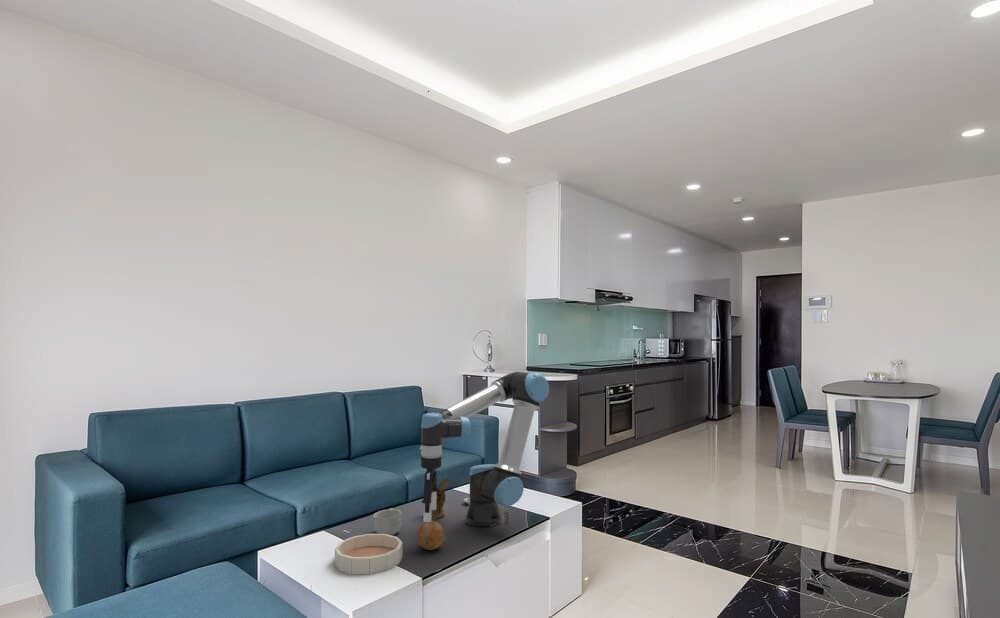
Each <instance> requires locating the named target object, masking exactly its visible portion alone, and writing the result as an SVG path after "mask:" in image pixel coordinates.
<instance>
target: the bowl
mask: <svg viewBox="0 0 1000 618" xmlns="http://www.w3.org/2000/svg"><path fill="white" fill-rule="evenodd" d="M402 558H403V541H402V540H401V539H400V538H399V537H398V536H395V535H387V534H378V533H366V534H361V535H354V536H351V537H350V538H349V537H348V538H347V539H344V540H342V541H340V542H339V543H338V544H337V545H336V546H335V548H334V566H335V567H336V569H337V570H338V571H340V572H343V573H346V574H349V575H371V574H377V573H381V571H382V572H386V571H388V570H391V569H393V568H394V567H396V566H398V565H399V564H400V563H401V560H402Z"/></svg>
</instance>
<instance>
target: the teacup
mask: <svg viewBox="0 0 1000 618" xmlns="http://www.w3.org/2000/svg"><path fill="white" fill-rule="evenodd" d="M373 526H374V531H375V533H376V534H387V535H391V536H395V535H396V534H397V533H398V532H399V531H400V530H401V528H402V511H401V510H399V509H394V508H393V507H391V508H388V509H383V510H379V511H377V512H375V513H373Z"/></svg>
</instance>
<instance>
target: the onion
mask: <svg viewBox="0 0 1000 618" xmlns="http://www.w3.org/2000/svg"><path fill="white" fill-rule="evenodd" d="M444 538H445V531H444V529H443V526H442V525H441V524H440V523H439V522H437V521H435V520H431V522H423V523H422V524H420V526H419V529H418V531H417V542H418V544H419V546H420V547H422V548H423V549H425V550H427V551H433V550H437V549H439V548H440V547H441V546H442V544H443V542H444Z"/></svg>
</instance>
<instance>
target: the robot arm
mask: <svg viewBox="0 0 1000 618" xmlns="http://www.w3.org/2000/svg"><path fill="white" fill-rule="evenodd" d="M549 394H550V385H549V382H548V380H547V379H546V377H545V376H544V375H542V374H540V373H537V372H536V373H535V372H524V371H523V372H522V371H513V372H510V373H507V374H506V375H505V374H504V375H503V376H501V377H499V378H498V379H495V380H493V381H492V382H491V383H490V385H488V386H487V387H485V388H483V389H481V390H479V391H477V392H476V393H474V394H472V395H470V396H467V397H465V398H464V399H462V400H460V401H458V402H456V403H454V404H453V405H451V406H449V407H447V408H445V409H443V410H441V411H439V412H429V413H424V414H422V417H421V423H420V424H421V425H420V428H421V436H420V437H421V439H420V441H421V442H420V445H421V446H419V450H421V451H420V454H421V457H420V467H421V468H422V469H425V470H426V471H425V473H424V483H423V485H424V486H423V497H422V500H421V504H423V516H422V517H423V518H422V519H423V523H424V522H431V521H432V519H431V512H432V510H436V498H437V492H435V491H439V488H438V476H437V475H438V474H437V473H438V471H437V469H439V468H441V467H442V454H443V449H442V448H443V444H442V443H443V442H442V441H443V439H453V438H462V437H467V436H468V435H469V434H470V433H471V430H472V427H471V426H472V424H471V420H470V419H469V418H470V417H472V416H474V415H476V414H478V413H480V412H482V411H483V410H485V409H487V408H489V407H491V406H493V405H494V404H496V403H498V402H500V403H503V402H506V401H507V400H510V399H512V403H513V404H514V406H513V411H512V414H511V417H510V421H509V424H508V427H507V432H506V435H505V438H504V442H503V443H504V444H503V447H502V450H501V454H500V457H499V461H498V462H497V463H495V464H493V463H489V464H488V463H486V464H479V465H473V466H471V467H470V469H469V475H468V476H469V497H470V503H469V504H468V506H467V509H466V513H465V523H466V524H467V525H469V526H471V525H472V526H473V527H476V526H479V527H480V526H489V527H492V526H491V525H494V524H497V523H499V522H500V521H501V522H502V513H501V510H500V507H499V505H500V506H505V507H512V506H513V505H515V504H516V503H518V502H519V501H520V499H522V496H523V495H524V494H523V492H524V483H523V481H522V480H521V478H522V472H521V470H520V467H521V463H522V459H523V456H524V452H525V448H526V444H527V440H528V437H529V432H530V429H531V425H532V421H533V418H534V414H535V411H536V410H538V409H540V406H541V403H542V402H544V401H545V400H547V398H548V396H549ZM499 524H500V523H499ZM497 525H498V524H497ZM494 526H495V525H494ZM479 527H478V528H479ZM480 528H481V527H480Z"/></svg>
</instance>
